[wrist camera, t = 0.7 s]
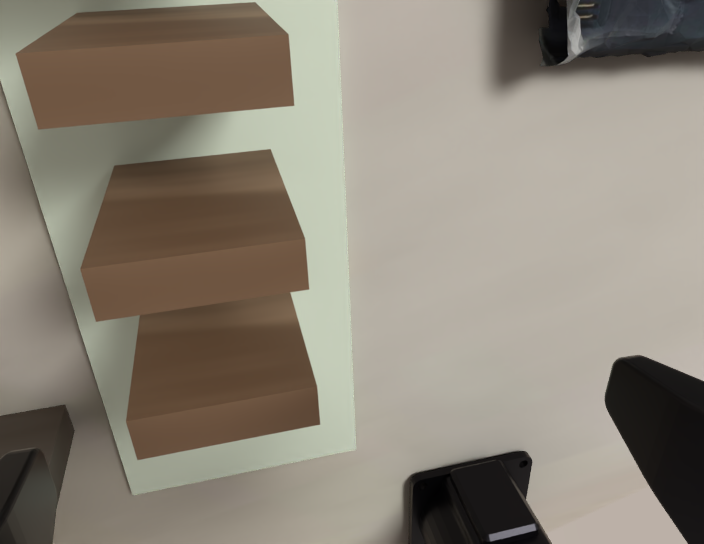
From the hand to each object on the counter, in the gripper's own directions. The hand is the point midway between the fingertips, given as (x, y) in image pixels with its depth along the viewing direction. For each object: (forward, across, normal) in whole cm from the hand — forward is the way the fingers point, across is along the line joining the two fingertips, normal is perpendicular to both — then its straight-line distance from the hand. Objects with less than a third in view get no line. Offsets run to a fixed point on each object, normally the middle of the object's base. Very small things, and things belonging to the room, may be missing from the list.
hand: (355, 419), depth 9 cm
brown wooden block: (+13, +2, +5) cm, 14 cm away
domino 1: (+13, +2, -4) cm, 14 cm away
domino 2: (+13, +2, 0) cm, 13 cm away
